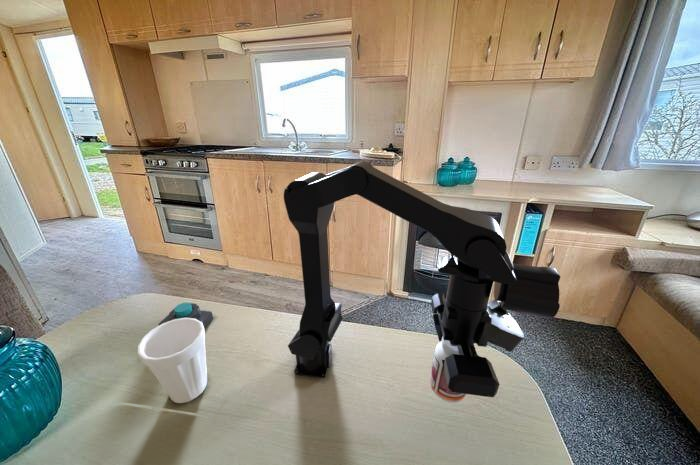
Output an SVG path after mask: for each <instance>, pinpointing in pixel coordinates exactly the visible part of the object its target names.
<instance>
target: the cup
mask: <svg viewBox="0 0 700 465" xmlns="http://www.w3.org/2000/svg"><path fill="white" fill-rule="evenodd" d="M205 339H206V330H205V328H204V326H203V324H202V322H200V321H199V320H197V319H195V318H180V319H174V320H171V321H168V322H166V323H163V324H161V325H157V326H156V327H154V328H152V329H151V330H150V331H148V333H146V334H145V335H144V336H143V337H142V338H141V340H140V342H139V343H138V345H137V347H136V350H137V356H138V358H139V360H140V361H141V362H142V364H144V365H145V366H146V367H147V368H149V369H150V371H151V372H152V373H153V375H154V376H155V377H156V379H157V381H158V382H159V384H160V385H161V386H162V388H163V389H164V390H165V392H166V393H167V394H168V396H169V398H170V400H171V401H172V402H173V403H176V404H184V403H189V402H191V401H193V400H194V399H196V398H198V396H200V395H201V394H202V393H203V392H204V390H205V389H206V388H207V384H208V372H207V371H208V370H207V355H206V354H207V353H206V341H205Z"/></svg>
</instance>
